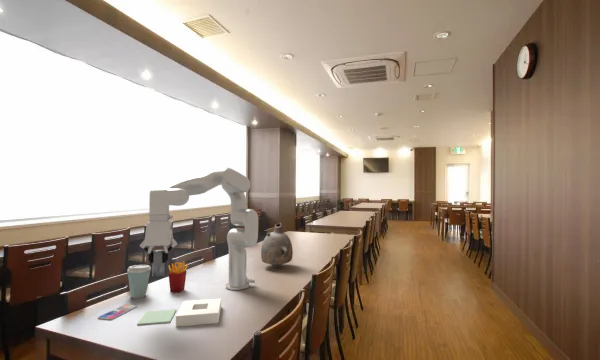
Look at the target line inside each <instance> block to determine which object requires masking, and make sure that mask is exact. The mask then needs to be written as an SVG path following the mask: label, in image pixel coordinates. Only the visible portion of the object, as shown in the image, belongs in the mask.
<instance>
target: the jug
mask: <svg viewBox="0 0 600 360" xmlns="http://www.w3.org/2000/svg"><path fill="white" fill-rule="evenodd" d="M260 249H261V250H260V256H261V257H260V258H261V261H262V263H265V264H267V265H268V264H269V265H271V266H273V267H274V268H279V267H281V266H283V265H286V264H287V263H290V262H292V261H293V253H294V252H293V245H292V241H291V239H290V236H288V234H286V233H284V232H283V225H282V222H279V223H275V224H274V228H273V231H271V232H267V233H266V235H265V237H264V239H263V241H262V244H261V248H260Z"/></svg>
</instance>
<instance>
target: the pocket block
mask: <svg viewBox="0 0 600 360" xmlns="http://www.w3.org/2000/svg"><path fill="white" fill-rule="evenodd" d="M221 310H222V298H221V297H220V298H209V299H207V298H205V299H193V300H192V299H191V300H183V301H182V303H181V305H180V307H179V309H178V312H177V314H176V315H175V327H184V326H186V327H187V326H197V325H211V324H219V322H220V317H221V316H220V315H221Z"/></svg>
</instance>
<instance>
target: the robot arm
mask: <svg viewBox="0 0 600 360" xmlns="http://www.w3.org/2000/svg"><path fill="white" fill-rule="evenodd" d="M218 186H221V187H222V189H223V190H224V192H226V194H227V195H228V196H229V198H230V223H231V224H232V225H233V226H238V227H235V228H231V229H229V231H228V232H227V235H226V240H227V241H226V242H227V246H228V282H227V283H226V284H225V288H226V289H227V290H232V291H239V290H240V291H241V290H244V289H247V288H249V287H250V283H251V284H253V283H256V280H255V279H256V278H248V276H247V255H248V254H247V250H246V248H254V247H255V246H256V245H257V243H258V238H259V215H258V213H257V211H256V210H254V209H252V208H248V207H247V206H248V205H247V197H246V195H245V193H248V191H250V188H251V182H250V179H249V178H248V177H247V176H246V175H243V174H242V173H240V172H238V171H236V170H235V169H233V168H230V167H219V168H218V167H216V168H213V169H211V170H209V171H207V172H204V173H203V174H200V175H197V176H195V177H191V178H188V179H186V180H183V181H180V182H176V183H174V184H172V185H170V186H167V187H165V188H152V189H151V190H149V205H148V206H149V208H148V211H149V213H148V215H149V216H148V217H149V219H148V221H147V223H146V228H145V235H144V239H143V241H142V242H141V243H140V244H139V247H140V248H142V249H143V250H144V251H145V252H147V254H148V262H149V264H151V265H152V256H153V251H154V248H155V247H163V250H165V253H164V259H163V263H165V264H166V263H167V262H168V260H169V252H170V251H171V250H172V249H174V248H175V247H176V246H177V245H178V243H177V241H176V240H175V239H174V235H173V225H172V221H171V220H172V219H173V218H174V216H173V215H170V206H176V207H177V206H178V207H180V206H184V205H186V204H187V203H188V202H189V199H190V197H191V196H196V195H201V194H205V193H207V192H208V191H209V192H210V191H211V190H213V189H214V188H217V187H218ZM241 227H244V228H241Z"/></svg>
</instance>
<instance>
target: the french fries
mask: <svg viewBox="0 0 600 360" xmlns="http://www.w3.org/2000/svg"><path fill="white" fill-rule="evenodd" d="M188 267H189V263H186V262H185V261H184V260H183V261H182V262H179V261H176V262H175V263H171V265H170V264H169V265H168V266H167V268H168V271H169V273H167V274H168V282H169V284H168V285H169V292H170V293H174V294H175V293H176V294H180V293H181V292H183V291H185V287H186V278H187V269H188Z"/></svg>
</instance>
